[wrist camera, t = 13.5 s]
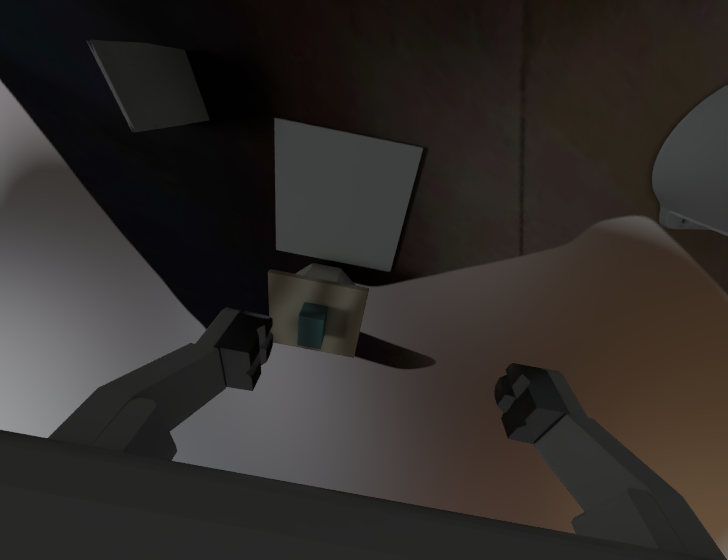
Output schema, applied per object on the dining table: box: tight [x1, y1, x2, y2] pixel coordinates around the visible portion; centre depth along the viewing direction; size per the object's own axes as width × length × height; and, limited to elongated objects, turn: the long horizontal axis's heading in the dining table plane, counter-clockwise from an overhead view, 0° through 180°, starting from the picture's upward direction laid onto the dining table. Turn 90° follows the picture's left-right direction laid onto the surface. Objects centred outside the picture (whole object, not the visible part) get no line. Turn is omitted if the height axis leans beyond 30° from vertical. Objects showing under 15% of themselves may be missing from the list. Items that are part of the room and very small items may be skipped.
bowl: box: [296, 263, 355, 286], centre depth 46 cm, size 11×11×6 cm
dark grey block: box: [86, 40, 210, 132], centre depth 29 cm, size 4×7×10 cm, turn 6°
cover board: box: [268, 269, 369, 358], centre depth 42 cm, size 14×14×4 cm
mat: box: [274, 118, 423, 272], centre depth 39 cm, size 18×18×1 cm
